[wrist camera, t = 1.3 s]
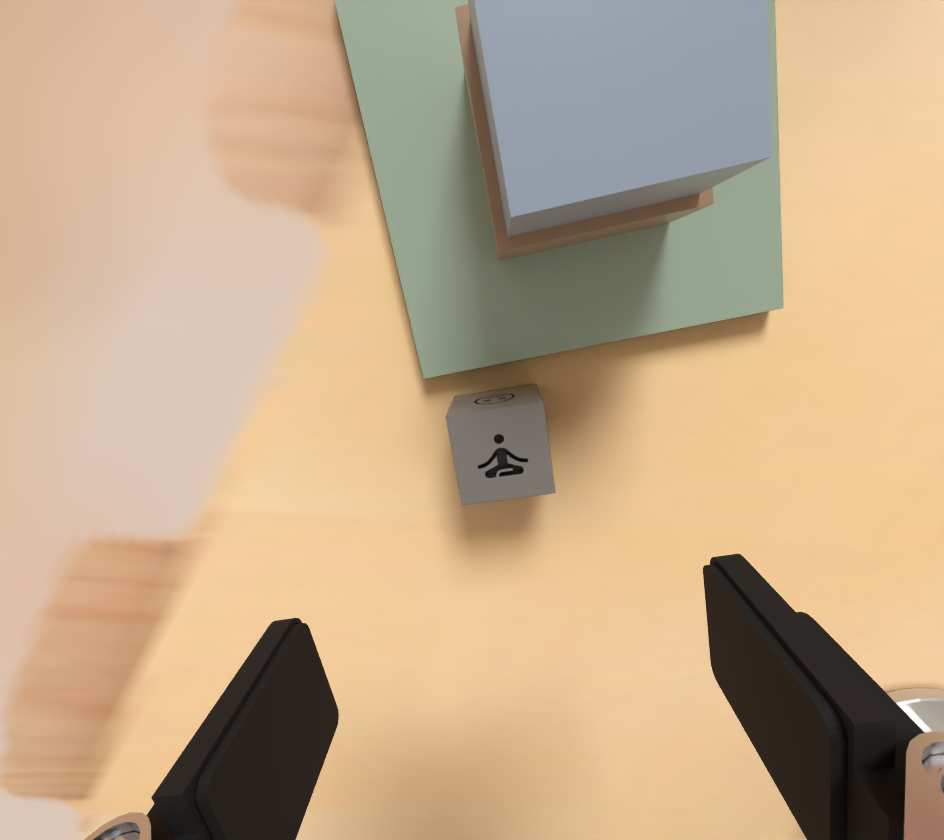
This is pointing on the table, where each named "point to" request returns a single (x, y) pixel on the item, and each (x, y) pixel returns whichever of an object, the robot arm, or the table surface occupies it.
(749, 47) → the stepped block pyramid
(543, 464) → the dice cube
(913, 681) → the table surface
